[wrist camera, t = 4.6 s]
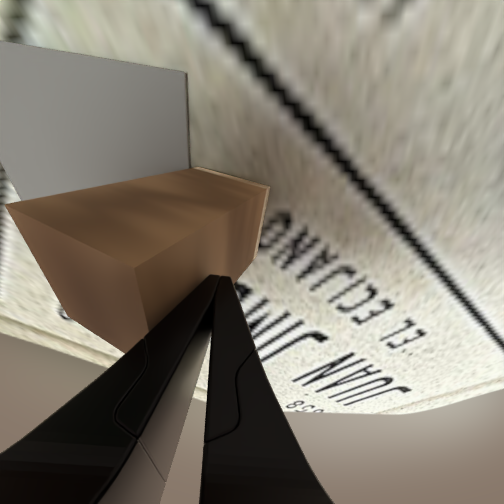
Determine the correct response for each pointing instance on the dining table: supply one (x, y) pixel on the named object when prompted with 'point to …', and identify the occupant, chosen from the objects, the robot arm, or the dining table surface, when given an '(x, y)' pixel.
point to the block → (141, 245)
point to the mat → (87, 120)
